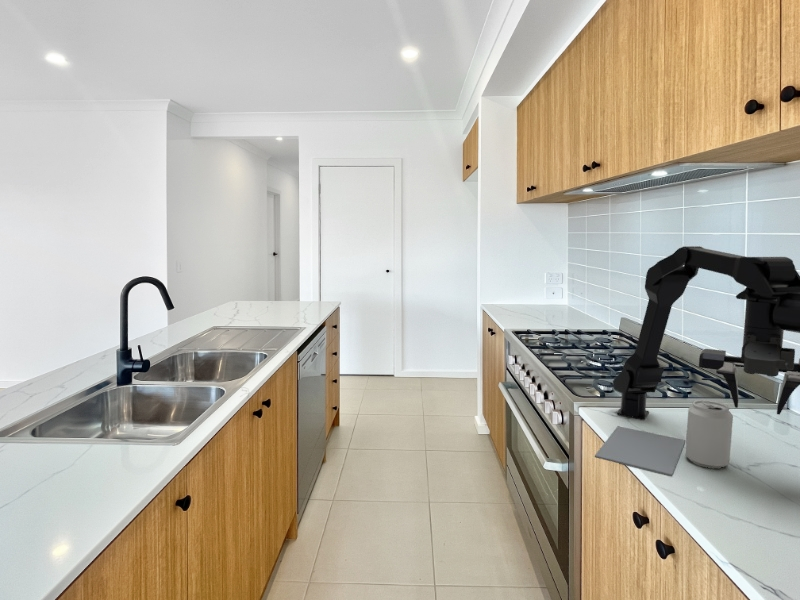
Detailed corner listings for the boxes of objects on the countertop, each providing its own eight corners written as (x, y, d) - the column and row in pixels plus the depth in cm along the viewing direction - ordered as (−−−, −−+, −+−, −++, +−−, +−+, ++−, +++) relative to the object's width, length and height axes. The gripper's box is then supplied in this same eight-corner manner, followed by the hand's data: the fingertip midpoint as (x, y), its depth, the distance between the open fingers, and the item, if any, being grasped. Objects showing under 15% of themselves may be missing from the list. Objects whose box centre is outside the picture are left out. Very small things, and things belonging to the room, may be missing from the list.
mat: (617, 427, 115) (617, 426, 115) (685, 441, 107) (685, 439, 107) (594, 457, 99) (594, 455, 99) (672, 476, 91) (672, 474, 91)
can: (708, 472, 93) (712, 412, 91) (676, 456, 100) (679, 399, 98) (738, 467, 95) (743, 408, 93) (705, 452, 102) (709, 396, 100)
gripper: (698, 327, 86) (692, 412, 88) (839, 339, 75) (829, 436, 77) (704, 319, 95) (699, 397, 97) (830, 329, 84) (822, 416, 86)
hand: (756, 410), depth 89 cm, fingers open, 6 cm apart
